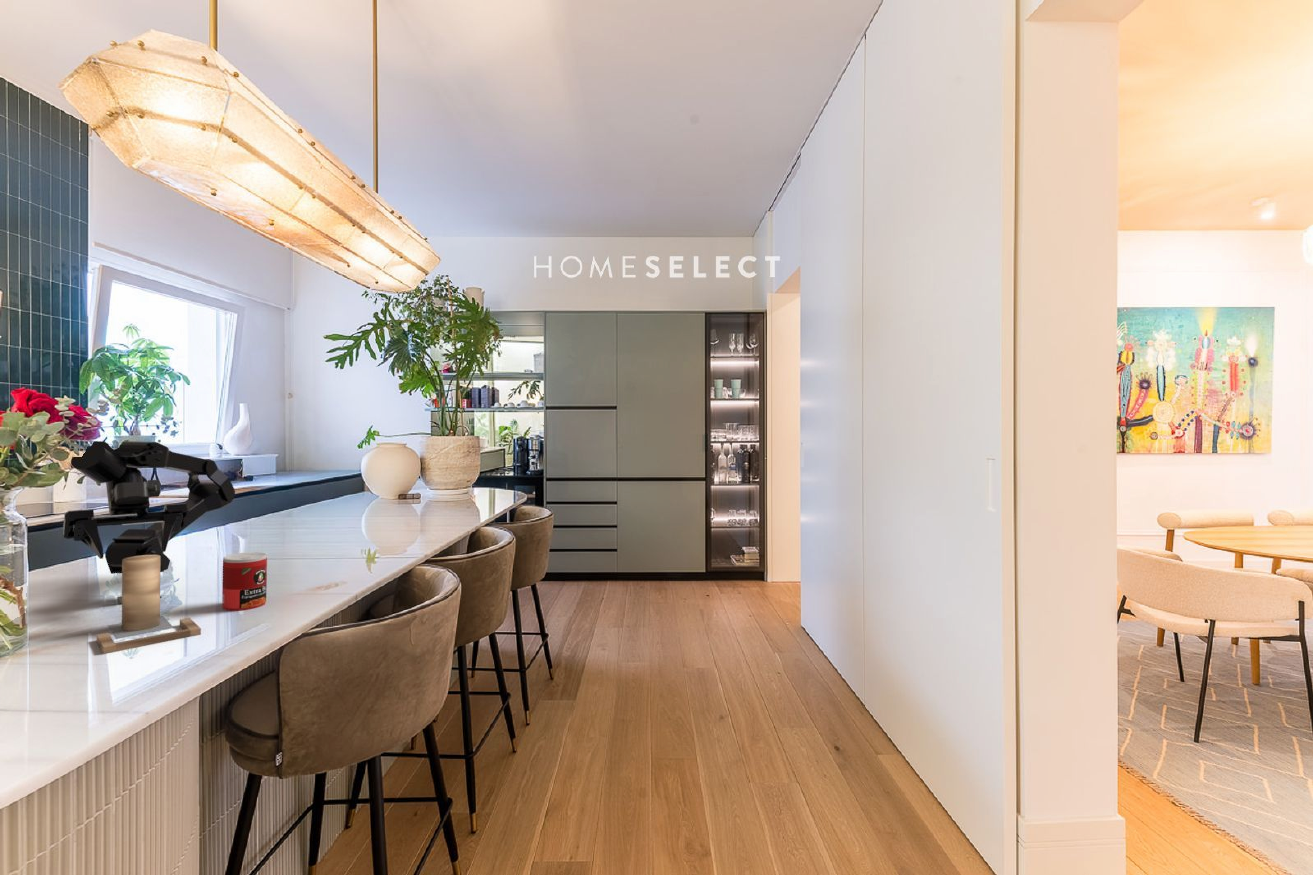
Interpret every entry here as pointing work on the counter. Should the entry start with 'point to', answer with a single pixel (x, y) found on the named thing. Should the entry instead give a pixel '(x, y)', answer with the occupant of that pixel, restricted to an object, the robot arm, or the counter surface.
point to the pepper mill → (140, 592)
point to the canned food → (244, 581)
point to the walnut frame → (148, 638)
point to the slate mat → (121, 634)
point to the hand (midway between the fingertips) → (134, 553)
